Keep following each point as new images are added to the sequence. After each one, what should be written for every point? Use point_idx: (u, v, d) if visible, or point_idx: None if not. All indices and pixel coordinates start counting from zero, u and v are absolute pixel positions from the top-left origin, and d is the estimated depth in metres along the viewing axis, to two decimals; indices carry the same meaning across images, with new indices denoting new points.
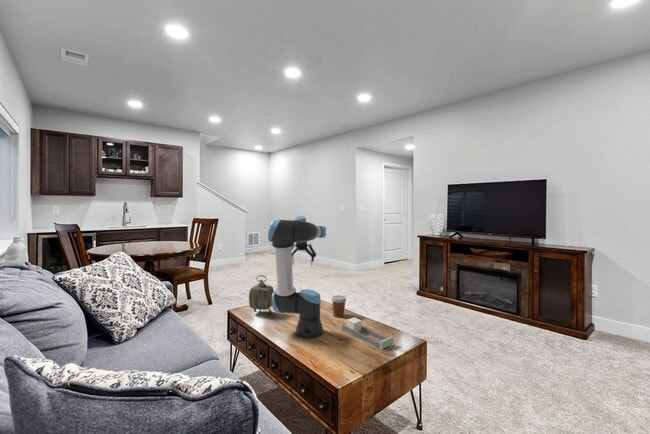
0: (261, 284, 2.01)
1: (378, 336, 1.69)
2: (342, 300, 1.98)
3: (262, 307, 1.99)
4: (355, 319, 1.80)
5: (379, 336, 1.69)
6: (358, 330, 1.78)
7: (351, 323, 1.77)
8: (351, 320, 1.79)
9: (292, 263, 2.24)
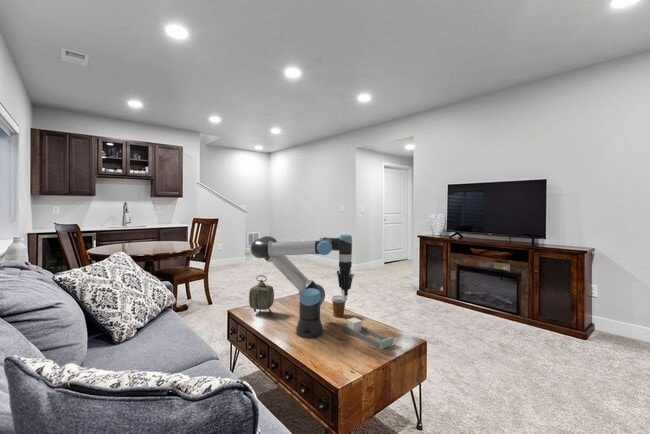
0: (261, 284, 2.01)
1: (378, 336, 1.69)
2: None
3: (262, 307, 1.99)
4: (355, 319, 1.80)
5: (379, 336, 1.69)
6: (358, 330, 1.78)
7: (351, 323, 1.77)
8: (351, 320, 1.79)
9: (342, 298, 1.85)
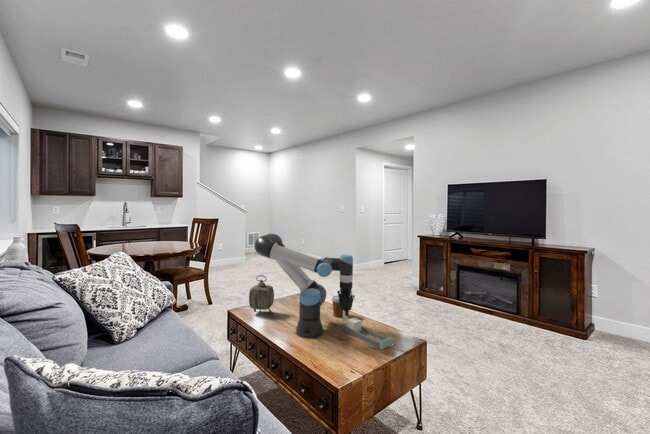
0: (261, 284, 2.01)
1: (378, 336, 1.69)
2: None
3: (262, 307, 1.99)
4: (355, 319, 1.80)
5: (379, 336, 1.69)
6: (358, 330, 1.78)
7: (351, 323, 1.77)
8: (351, 320, 1.79)
9: (343, 318, 1.85)
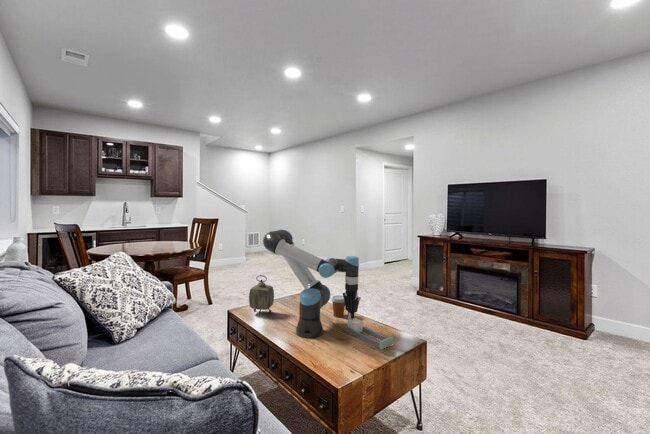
0: (261, 284, 2.01)
1: (378, 336, 1.69)
2: (342, 300, 1.98)
3: (262, 307, 1.99)
4: (356, 320, 1.80)
5: (379, 336, 1.69)
6: (359, 331, 1.77)
7: (352, 324, 1.76)
8: (352, 321, 1.78)
9: None
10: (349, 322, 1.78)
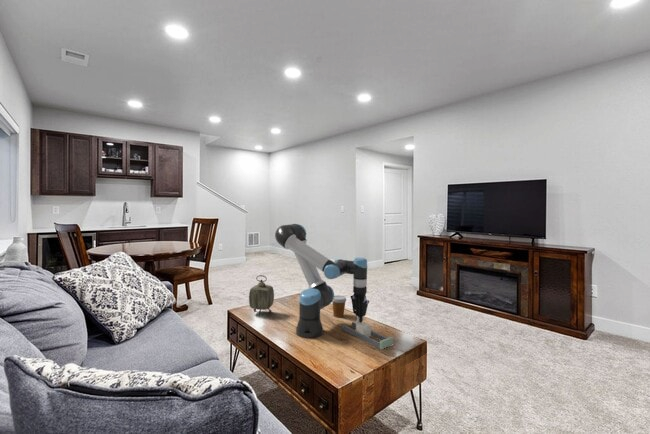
0: (261, 284, 2.01)
1: (378, 336, 1.69)
2: (342, 300, 1.98)
3: (262, 307, 1.99)
4: (365, 323, 1.74)
5: (379, 336, 1.69)
6: (368, 335, 1.72)
7: (361, 328, 1.71)
8: (360, 324, 1.73)
9: None
10: (357, 326, 1.73)
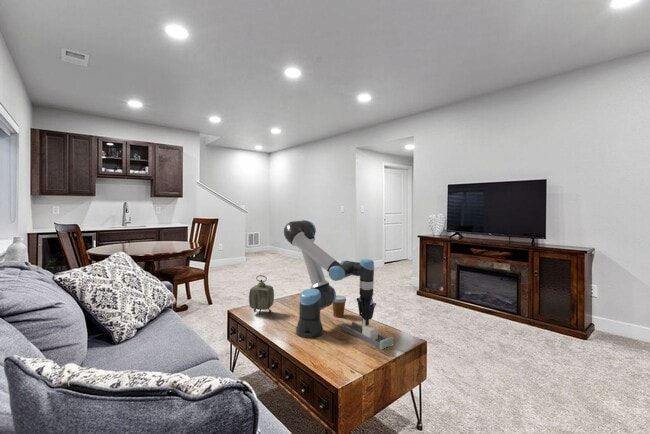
0: (261, 284, 2.01)
1: (378, 336, 1.69)
2: (342, 300, 1.98)
3: (262, 307, 1.99)
4: (371, 326, 1.70)
5: (379, 336, 1.69)
6: (375, 338, 1.68)
7: (367, 331, 1.67)
8: (367, 327, 1.69)
9: None
10: (364, 329, 1.69)
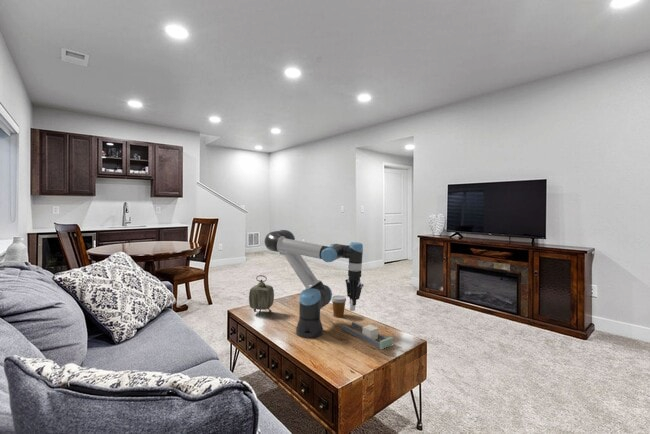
0: (261, 284, 2.01)
1: (378, 336, 1.69)
2: (342, 300, 1.98)
3: (262, 307, 1.99)
4: (371, 326, 1.70)
5: (379, 336, 1.69)
6: (375, 338, 1.68)
7: (367, 331, 1.67)
8: (367, 327, 1.69)
9: (350, 308, 1.79)
10: (364, 329, 1.69)
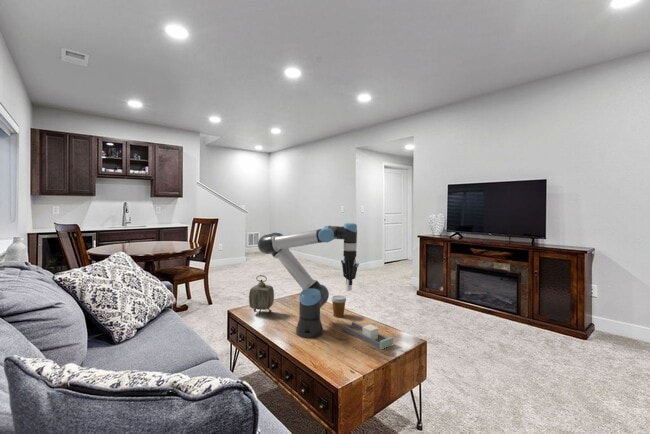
0: (261, 284, 2.01)
1: (378, 336, 1.69)
2: (342, 300, 1.98)
3: (262, 307, 1.99)
4: (371, 326, 1.70)
5: (379, 336, 1.69)
6: (375, 338, 1.68)
7: (367, 331, 1.67)
8: (367, 327, 1.69)
9: (346, 288, 1.82)
10: (364, 329, 1.69)
